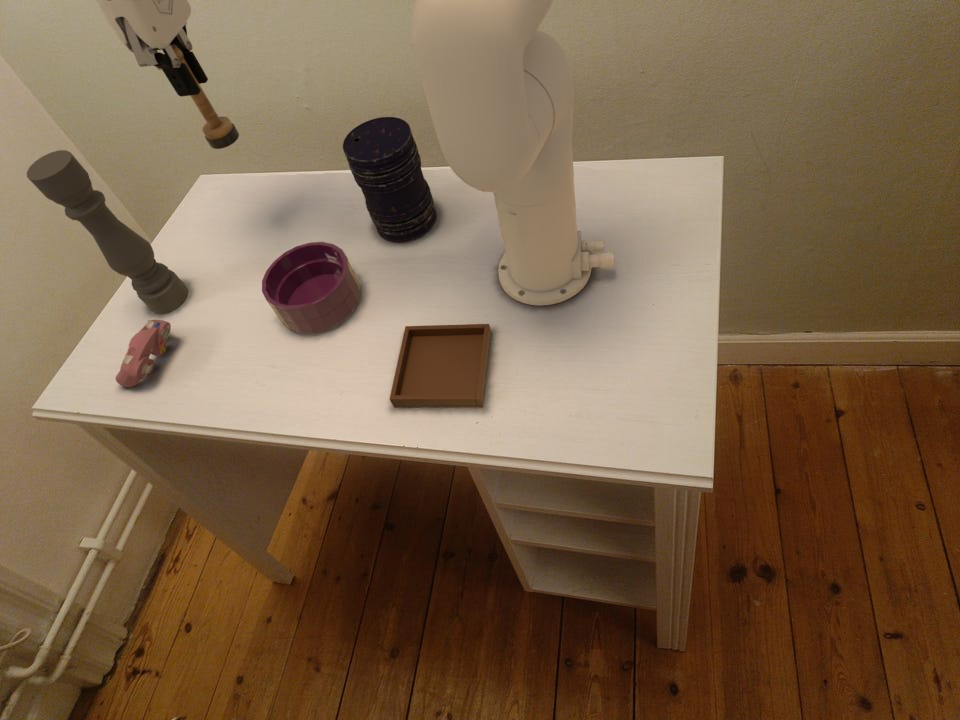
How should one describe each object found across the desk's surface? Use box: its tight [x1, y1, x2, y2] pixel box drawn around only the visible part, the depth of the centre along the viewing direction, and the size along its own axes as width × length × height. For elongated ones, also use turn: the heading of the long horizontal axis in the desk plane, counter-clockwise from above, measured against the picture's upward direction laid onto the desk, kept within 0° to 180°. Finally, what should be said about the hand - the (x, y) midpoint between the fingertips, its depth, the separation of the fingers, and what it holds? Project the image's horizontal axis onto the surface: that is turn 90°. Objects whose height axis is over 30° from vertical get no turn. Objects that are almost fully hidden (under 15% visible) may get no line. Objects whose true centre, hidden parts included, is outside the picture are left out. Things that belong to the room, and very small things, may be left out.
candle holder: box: [26, 149, 189, 315], centre depth 85 cm, size 6×6×25 cm
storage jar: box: [342, 116, 438, 244], centre depth 89 cm, size 10×10×15 cm
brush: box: [170, 45, 240, 150], centre depth 83 cm, size 4×4×14 cm
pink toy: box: [115, 319, 171, 388], centre depth 85 cm, size 10×5×7 cm, turn 168°
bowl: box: [261, 241, 362, 334], centre depth 86 cm, size 12×12×6 cm
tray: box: [389, 323, 493, 409], centre depth 77 cm, size 11×11×2 cm
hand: (193, 87), depth 82 cm, fingers closed on brush, 2 cm apart
